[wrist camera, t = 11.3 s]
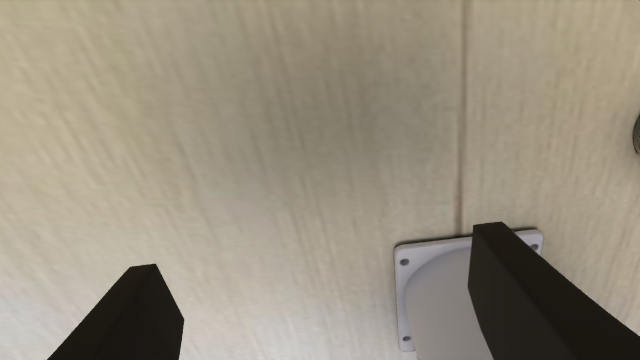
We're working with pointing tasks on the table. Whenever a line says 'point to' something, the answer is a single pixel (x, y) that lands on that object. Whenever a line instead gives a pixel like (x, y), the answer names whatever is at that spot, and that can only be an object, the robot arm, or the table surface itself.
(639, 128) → the tumbler
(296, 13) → the table surface
